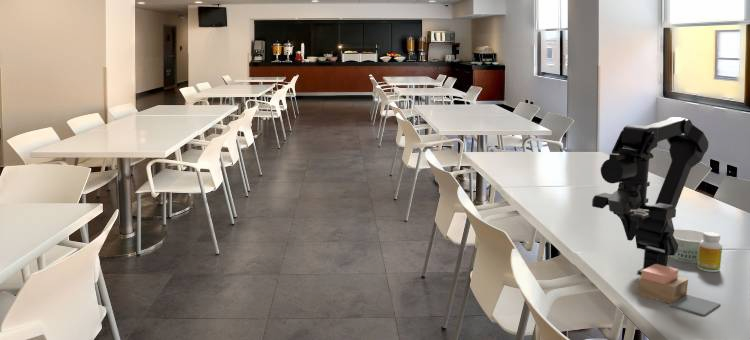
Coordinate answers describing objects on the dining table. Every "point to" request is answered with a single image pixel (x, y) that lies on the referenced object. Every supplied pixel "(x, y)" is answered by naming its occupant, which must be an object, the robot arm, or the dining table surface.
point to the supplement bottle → (710, 252)
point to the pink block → (659, 273)
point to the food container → (687, 244)
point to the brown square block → (664, 289)
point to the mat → (695, 305)
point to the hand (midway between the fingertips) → (630, 240)
